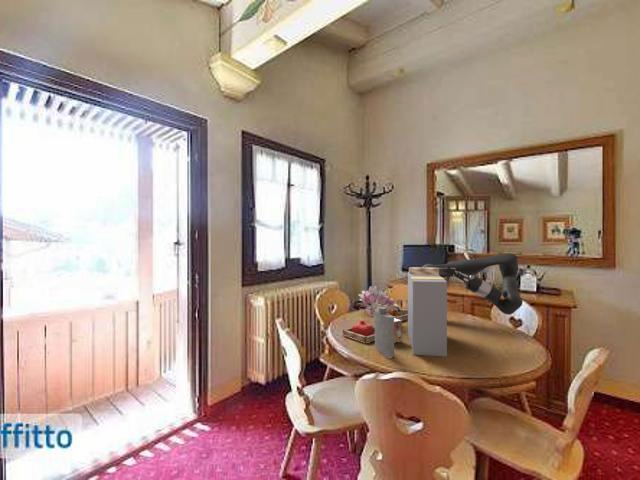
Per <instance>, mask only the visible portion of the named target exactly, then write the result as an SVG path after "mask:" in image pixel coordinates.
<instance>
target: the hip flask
mask: <svg viewBox="0 0 640 480" xmlns="http://www.w3.org/2000/svg"><path fill="white" fill-rule="evenodd" d="M386 310H387V308H386V307H379V308H378V309H375V320H374V324H375V342H374V348H375V347H376V348H377V349H378V350H379V351H380V352H381V353H382V354H384V355H385V356H387V357H391V358H390V359H393V358H392V357H394V358H395V343H394V316H392V315H389V314H387V313H386ZM376 348H375V349H376ZM377 349H376V350H377ZM378 350H377V351H378ZM379 351H378V352H379ZM380 352H379V353H380ZM381 353H380V354H381ZM382 354H381V355H382ZM384 355H383V356H384ZM385 356H384V357H385ZM387 357H386V358H387Z"/></svg>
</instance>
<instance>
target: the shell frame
mask: <svg viewBox="0 0 640 480" xmlns="http://www.w3.org/2000/svg"><path fill="white" fill-rule="evenodd" d="M374 308H375V307H374ZM400 309H401V311H400V314H399V316H398V317H395V316H394V318H396V319H399V320H401V321H402V322H404V321H405V322H406V321H408V309H406V308H405V309H403V308H400ZM363 311H364V315H365V314H367V315H368V312H369V311H370V310H367V308H366V309H363ZM372 314H373V312H371V316H372ZM403 314H404V315H403ZM367 315H366V316H367ZM371 316H370V317H371Z"/></svg>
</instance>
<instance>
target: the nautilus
mask: <svg viewBox="0 0 640 480" xmlns="http://www.w3.org/2000/svg"><path fill="white" fill-rule="evenodd" d="M379 305H381V303H379ZM379 305H378V306H379ZM393 305H394V306H395V308H396V309H397V310H398V312H397V310H394V309H393V310H391V309H389V310H388V311H386V313H388V314H389V315H392V316H395V317H398V316H400V315H401V314H400V311H401V309H402V308H401V307H400V306H399V305H398V304H397V303H394V304H393ZM384 306H385V305H384ZM377 309H378V308H377Z"/></svg>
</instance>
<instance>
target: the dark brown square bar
mask: <svg viewBox="0 0 640 480" xmlns="http://www.w3.org/2000/svg"><path fill="white" fill-rule="evenodd" d="M446 269H447V268H422V267H408V272H409V274H432V275H452V274H450V273H449V272H447V271H446ZM451 269H453V270H455V271H456V268H451Z"/></svg>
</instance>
